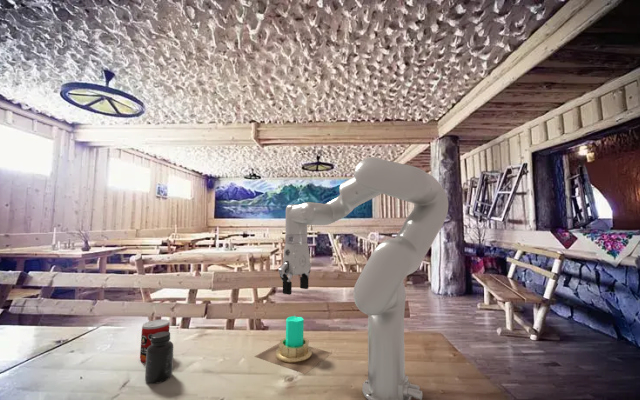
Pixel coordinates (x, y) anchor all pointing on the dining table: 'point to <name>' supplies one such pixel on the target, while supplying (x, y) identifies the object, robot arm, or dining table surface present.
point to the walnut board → (299, 367)
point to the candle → (294, 331)
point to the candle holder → (293, 352)
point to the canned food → (148, 331)
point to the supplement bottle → (159, 358)
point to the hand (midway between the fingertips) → (296, 291)
